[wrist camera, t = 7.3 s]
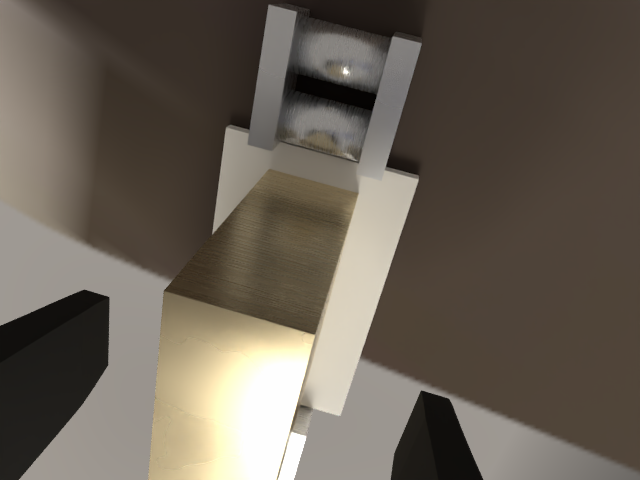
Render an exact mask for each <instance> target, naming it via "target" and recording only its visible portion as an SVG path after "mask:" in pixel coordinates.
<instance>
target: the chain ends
mask: <svg viewBox="0 0 640 480" xmlns="http://www.w3.org/2000/svg"><path fill="white" fill-rule="evenodd" d="M309 14H310V9H306V8H302V7H298V6H294V5H290V4H286V3H283V4H270V5H269V6H268V12H267V19H266V25H265V32H264V38H263V45H262V51H261V58H260V65H259V71H258V78H257V84H256V91H255V97H254V104H253V110H252V117H251V124H250V130H249V137H248V143H247V145H251V146H254V147H258V148H262V149H265V150H269V151H273V150H274V149H275V148H276V147H277V146H278V144H279V143H280V142H281V141H284V142H287V143H291V144H295V145H299V146H302V147H306V148H310V149H313V150H317V151H321V152H325V153H328V154H332V155H336V156H339V157H343V158H347V159H350V160H354V161H358V162H359V165H358V168H357V172H356V174H357V175H361V176H365V177H368V178H372V179H376V180H380V181H382V177H383V174H384V171H385V167H386V164H387V160H388V157H389V154H390V150H391V147H392V144H393V140H394V137H395V133H396V130H397V127H398V123H399V120H400V116H401V113H402V110H403V106H404V103H405V99H406V96H407V93H408V89H409V86H410V82H411V79H412V76H413V72H414V69H415V65H416V62H417V59H418V55H419V52H420V49H421V45H422V38H421V37H417V36H413V35H409V34H405V33H401V32H397V31H396V32H395V33H394V35H393V37H392V38H390V37H386V36H382V35H378V34H374V33H370V32H366V31H362V30H358V29H354V28H350V27H346V26H342V25H338V24H334V23H330V22H326V21H323V20H319V19H315V18H311V17H309ZM298 74H300V75H304V76H308V77H312V78H315V79H319V80H323V81H327V82H331V83H335V84H338V85H342V86H346V87H350V88H354V89H358V90H361V91H365V92H369V93H373V94H377V97H376V101H375V105H374V108H373V111H371V110H367V109H363V108H359V107H356V106H352V105H348V104H344V103H340V102H337V101H333V100H329V99H325V98H321V97H318V96H314V95H310V94H306V93H302V92H299V91H295V88H296V83H297V78H298ZM312 412H313V408H311V407H307V406H304V405H300V408H299V411H298V415H297V418H296V422H295V425H294V428H293V432H292V435H291V439H290V442H289V446H288V449H287V452H286V456H285V459H284V463H283V466H282V469H281V473H280V476H279V480H293V479H294V476H295V473H296V469H297V465H298V463H299V459H300V456H301V452H302V449H303V445H304V442H305V439H306V435H307V431H308V427H309V424H310V419H311V416H312Z"/></svg>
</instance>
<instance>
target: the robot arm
mask: <svg viewBox="0 0 640 480" xmlns="http://www.w3.org/2000/svg"><path fill="white" fill-rule="evenodd" d="M108 341H109V297H107V296H104V295H100V294H97V293H94V292H91V291H87V290H82V291H80V292H77V293H75V294H72V295H70V296H68V297H65V298H63V299H61V300H58V301H56V302H54V303H51V304H49V305H47V306H45V307H43V308H40V309H38V310H36V311H34V312H31V313H29V314H27V315H24V316H22V317H20V318H17V319H15V320H13V321H11V322H8V323H6V324H4V325H1V326H0V480H19V479H20V478H21V476H22V475H23V474H24V473H25V472H26V470H27V469H28V468H29V467H30V466H31V465H32V464H33V462H34V461H35V460H36V459H37V458H38V457H39V455H40V454H41V453H42V452H43V450H44V449H45V448H46V447H47V446H48V445H49V444H50V442H51V441H52V440H53V439H54V438H55V437H56V435H57V434H58V433H59V432H60V431H61V429H62V428H63V427H64V426H65V425H66V423H67V422H68V421H69V420H70V419H71V418H72V416H73V415H74V414H75V413H76V411H77V410H78V409H79V408H80V407H81V405H82V404H83V403H84V401H85V400H86V398H87V397H88V395H89V394H90V392H91V391H92V389H93V388H94V387H95V385H96V383H97V382H98V380H99V379H100V377H101V375H102V374H103V372H104V371H105V369H106V368H107V366H108V345H109V342H108ZM391 480H483V478H482V476H481V473H480V471H479V469H478V467H477V464H476V462H475V460H474V458H473V455H472V453H471V451H470V448H469V446H468V444H467V441H466V439H465V436H464V434H463V431H462V429H461V426H460V424H459V421H458V419H457V416H456V414H455V411H454V408H453V406H452V403H451V402H450V400H449V399H448V398H445V397H442V396H438V395H435V394H432V393H428V392H425V391H421V392H420V394H419V397H418V399H417V401H416V404H415V406H414V409H413V411H412V413H411V416H410V418H409V420H408V423H407V425H406V427H405V430H404V432H403V434H402V437H401V439H400V441H399V444H398V446H397V448H396V451H395V453H394V460H393V467H392V475H391Z"/></svg>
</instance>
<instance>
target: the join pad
mask: <svg viewBox="0 0 640 480" xmlns="http://www.w3.org/2000/svg"><path fill="white" fill-rule="evenodd" d="M248 137H249V130H248V129H244V128H241V127H237V126H233V125H229V126H227V127H226V132H225V140H224V147H223V155H222V163H221V171H220V178H219V186H218V194H217V201H216V209H215V217H214V225H213V232H212V234H213V233H214V232H215V231H216V230H217V229H218V227H219V226H220V225H221V224H222V223H223V222H224V220H225V219H226V218H227V217H228V216H229V215H230V214H231V212H232V211H233V210H234V209H235V208H236V207H237V205H238V204H239V203H240V202H241V201H242V200H243V198H244V197H245V196H246V195H247V194H248V193H249V191H250V190H251V189H252V188H253V187H254V186H255V184H256V183H257V182H258V181H259V180H260V179H261V178H262V176H263V175H264V174H265V173H266V172H267V171H268V169H272V170H275V171H279V172H283V173H286V174H290V175H294V176H297V177H301V178H305V179H308V180H312V181H316V182H319V183H323V184H327V185H330V186H334V187H337V188H341V189H345V190H348V191H352V192H356V193H359V195H358V198H357V202H356V206H355V209H354V213H353V217H352V220H351V224H350V227H349V231H348V235H347V238H346V242H345V246H344V249H343V253H342V257H341V260H340V264H339V267H338V271H337V275H336V278H335V282H334V286H333V289H332V293H331V296H330V300H329V304H328V307H327V311H326V315H325V318H324V322H323V326H322V329H321V333H320V336H319V340H318V344H317V347H316V351H315V355H314V358H313V362H312V365H311V369H310V373H309V376H308V380H307V384H306V387H305V391H304V394H303V398H302V401H301V405H304V406H307V407H311V408H314V409H317V410H321V411H324V412H327V413H331V414H334V415H337V416H340V415H341V412H342V409H343V406H344V403H345V400H346V397H347V394H348V391H349V388H350V385H351V382H352V379H353V376H354V373H355V370H356V367H357V364H358V361H359V358H360V355H361V352H362V349H363V346H364V343H365V340H366V337H367V334H368V331H369V328H370V325H371V322H372V319H373V316H374V313H375V310H376V307H377V304H378V301H379V298H380V295H381V292H382V289H383V286H384V283H385V280H386V277H387V274H388V271H389V268H390V265H391V262H392V259H393V256H394V253H395V250H396V247H397V244H398V241H399V238H400V235H401V232H402V229H403V226H404V223H405V220H406V217H407V214H408V211H409V208H410V205H411V202H412V199H413V196H414V193H415V190H416V187H417V184H418V181H419V175H415V174H411V173H407V172H404V171H400V170H396V169H393V168H389V167H385V171H384V174H383V177H382V181H380V180H376V179H372V178H368V177H365V176H361V175H357V174H356V172H357V168H358V165H359V162H358V161H354V160H350V159H347V158H343V157H339V156H336V155H332V154H328V153H325V152H321V151H317V150H313V149H310V148H306V147H302V146H299V145H295V144H291V143H287V142H284V141H281V142H280V143H279V144H278V146H277V147H276V148H275V149H274V150H273V151H269V150H265V149H262V148H258V147H254V146H251V145H247V143H248Z"/></svg>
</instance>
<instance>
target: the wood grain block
mask: <svg viewBox="0 0 640 480" xmlns="http://www.w3.org/2000/svg"><path fill="white" fill-rule="evenodd" d="M358 195H359V193H356V192H352V191H348V190H345V189H341V188H337V187H334V186H330V185H327V184H323V183H319V182H316V181H312V180H308V179H305V178H301V177H297V176H294V175H290V174H286V173H283V172H279V171H275V170H272V169H268V171H267V172H266V173H265V174H264V175H263V176H262V178H261V179H260V180H259V181H258V182H257V183H256V184H255V186H254V187H253V188H252V189H251V190H250V191H249V193H248V194H247V195H246V196H245V197H244V198H243V200H242V201H241V202H240V203H239V204H238V205H237V207H236V208H235V209H234V210H233V211H232V212H231V214H230V215H229V216H228V217H227V218H226V219H225V220H224V222H223V223H222V224H221V225H220V226H219V227H218V229H217V230H216V231H215V232H214V233H213V234H212V236H211V237H210V238H209V239H208V240H207V241H206V243H205V244H204V245H203V246H202V247H201V248H200V249H199V251H198V252H197V253H196V254H195V255H194V256H193V258H192V259H191V260H190V261H189V262H188V263H187V265H186V266H185V267H184V268H183V269H182V270H181V272H180V273H179V274H178V275H177V276H176V277H175V279H174V280H173V281H172V282H171V283H170V284H169V286H168V287H167V288H166V289H165V290H164V296H163V308H162V319H161V332H160V344H159V356H158V368H157V380H156V392H155V405H154V417H153V428H152V441H151V453H150V465H149V477H148V480H279V476H280V473H281V469H282V466H283V463H284V459H285V456H286V452H287V449H288V446H289V442H290V439H291V435H292V432H293V428H294V425H295V422H296V418H297V415H298V411H299V408H300V405H301V401H302V398H303V394H304V391H305V387H306V384H307V380H308V376H309V373H310V369H311V365H312V362H313V358H314V355H315V351H316V347H317V344H318V340H319V336H320V333H321V329H322V326H323V322H324V318H325V315H326V311H327V307H328V304H329V300H330V296H331V293H332V289H333V286H334V282H335V278H336V275H337V271H338V267H339V264H340V260H341V257H342V253H343V249H344V246H345V242H346V238H347V235H348V231H349V227H350V224H351V220H352V217H353V213H354V209H355V206H356V202H357V198H358Z"/></svg>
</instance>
